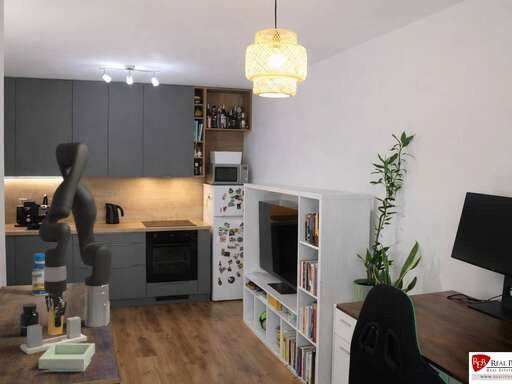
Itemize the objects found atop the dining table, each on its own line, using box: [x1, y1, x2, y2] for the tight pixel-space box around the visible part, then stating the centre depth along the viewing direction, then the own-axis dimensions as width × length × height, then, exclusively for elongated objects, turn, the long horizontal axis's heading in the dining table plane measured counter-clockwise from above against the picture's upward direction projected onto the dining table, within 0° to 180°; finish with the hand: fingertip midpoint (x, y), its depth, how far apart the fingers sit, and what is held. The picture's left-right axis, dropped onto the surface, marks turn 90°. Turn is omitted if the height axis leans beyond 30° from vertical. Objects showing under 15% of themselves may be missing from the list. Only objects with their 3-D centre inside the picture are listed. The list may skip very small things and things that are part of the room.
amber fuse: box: [47, 310, 65, 336], centre depth 180 cm, size 4×3×8 cm
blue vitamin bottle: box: [31, 252, 48, 297], centre depth 250 cm, size 8×8×20 cm
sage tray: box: [38, 342, 96, 373], centre depth 166 cm, size 14×14×4 cm
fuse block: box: [20, 333, 88, 355], centre depth 180 cm, size 21×7×2 cm, turn 134°
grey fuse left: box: [26, 323, 43, 348], centre depth 175 cm, size 4×3×8 cm
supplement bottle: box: [19, 302, 40, 338], centre depth 190 cm, size 7×7×12 cm
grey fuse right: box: [66, 316, 82, 339], centre depth 185 cm, size 4×3×8 cm
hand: (55, 325), depth 180 cm, fingers closed on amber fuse, 2 cm apart
